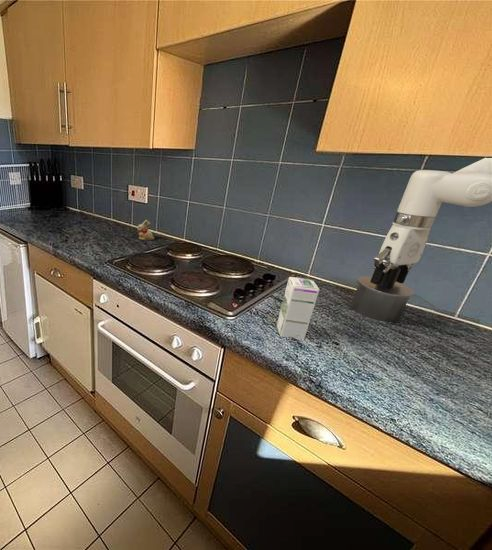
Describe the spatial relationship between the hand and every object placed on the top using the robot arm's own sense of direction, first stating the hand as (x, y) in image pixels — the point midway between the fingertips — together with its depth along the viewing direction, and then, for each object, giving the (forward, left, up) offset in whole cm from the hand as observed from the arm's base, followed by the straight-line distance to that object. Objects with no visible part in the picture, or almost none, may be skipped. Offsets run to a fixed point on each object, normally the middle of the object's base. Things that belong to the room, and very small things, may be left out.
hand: (386, 282), depth 85 cm
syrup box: (+28, +18, -10) cm, 35 cm away
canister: (0, 0, -10) cm, 10 cm away
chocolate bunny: (+76, -53, -10) cm, 93 cm away
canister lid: (0, 0, -2) cm, 2 cm away
